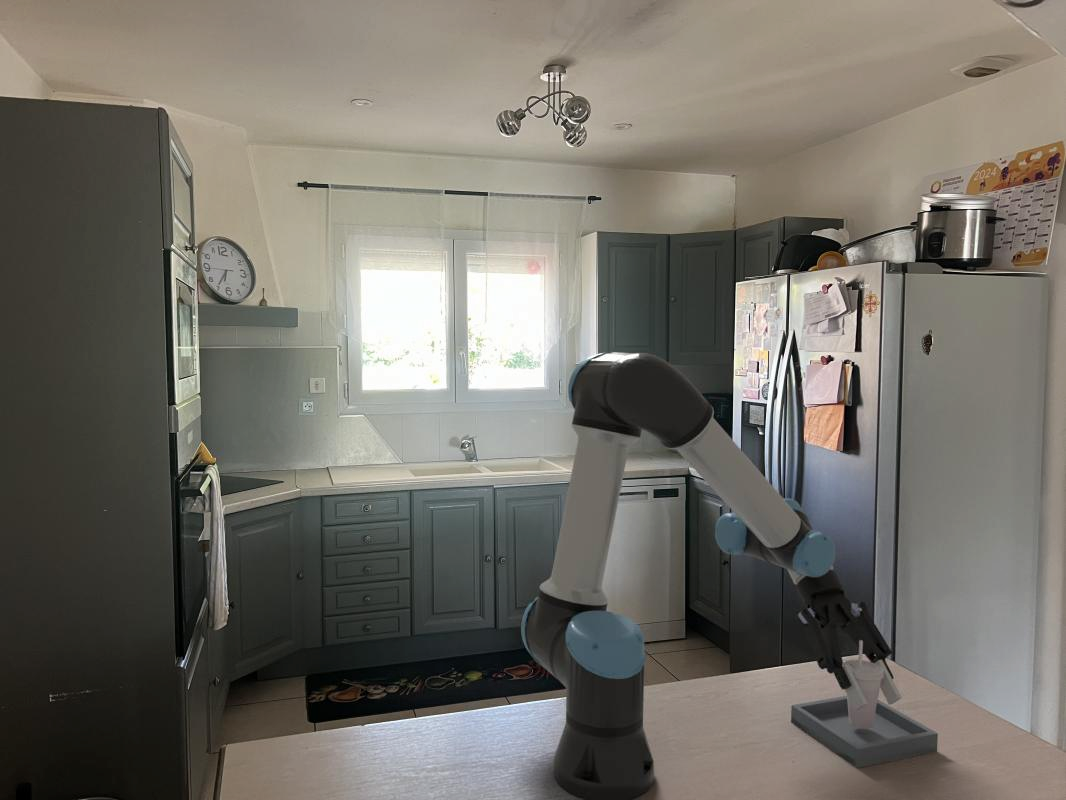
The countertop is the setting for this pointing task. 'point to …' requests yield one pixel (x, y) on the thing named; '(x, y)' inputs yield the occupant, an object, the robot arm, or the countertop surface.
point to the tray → (864, 732)
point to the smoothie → (865, 690)
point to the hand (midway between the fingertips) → (878, 703)
